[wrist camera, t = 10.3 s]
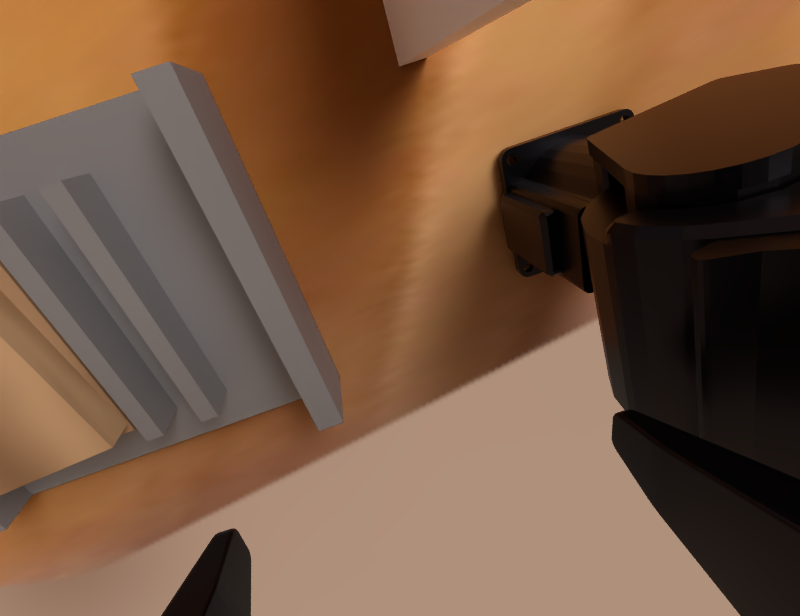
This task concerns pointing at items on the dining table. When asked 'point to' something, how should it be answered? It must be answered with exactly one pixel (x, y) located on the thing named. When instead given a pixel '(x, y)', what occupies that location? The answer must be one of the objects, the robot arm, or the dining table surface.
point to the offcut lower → (54, 336)
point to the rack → (158, 269)
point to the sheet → (438, 23)
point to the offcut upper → (45, 406)
